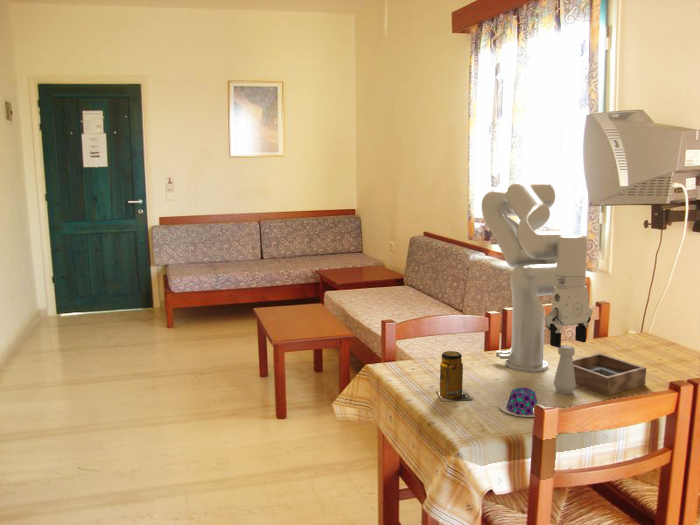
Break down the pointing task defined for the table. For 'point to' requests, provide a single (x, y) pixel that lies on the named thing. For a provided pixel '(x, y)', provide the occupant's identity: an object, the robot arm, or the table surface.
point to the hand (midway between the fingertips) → (568, 343)
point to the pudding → (520, 402)
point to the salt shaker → (565, 371)
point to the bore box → (607, 374)
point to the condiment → (452, 377)
